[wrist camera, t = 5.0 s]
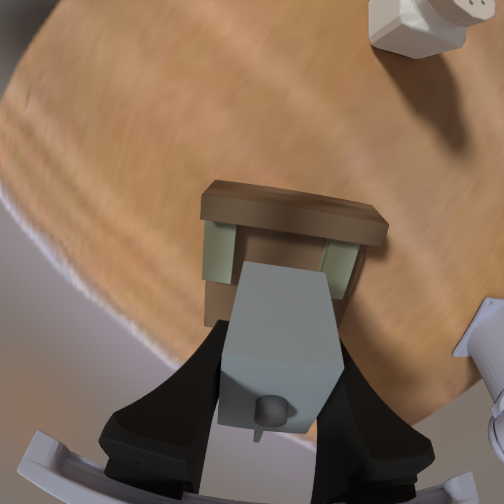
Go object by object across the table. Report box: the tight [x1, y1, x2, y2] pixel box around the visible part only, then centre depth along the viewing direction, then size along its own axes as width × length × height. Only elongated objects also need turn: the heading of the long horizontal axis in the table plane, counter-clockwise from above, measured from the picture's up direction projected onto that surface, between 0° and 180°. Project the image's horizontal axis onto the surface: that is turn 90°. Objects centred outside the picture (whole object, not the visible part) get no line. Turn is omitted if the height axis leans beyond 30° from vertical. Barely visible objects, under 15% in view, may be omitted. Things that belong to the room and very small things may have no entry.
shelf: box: [200, 180, 389, 330], centre depth 20 cm, size 11×12×4 cm
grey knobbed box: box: [217, 261, 344, 442], centre depth 13 cm, size 4×7×7 cm, turn 173°
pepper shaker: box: [368, 0, 495, 59], centre depth 9 cm, size 4×4×10 cm
